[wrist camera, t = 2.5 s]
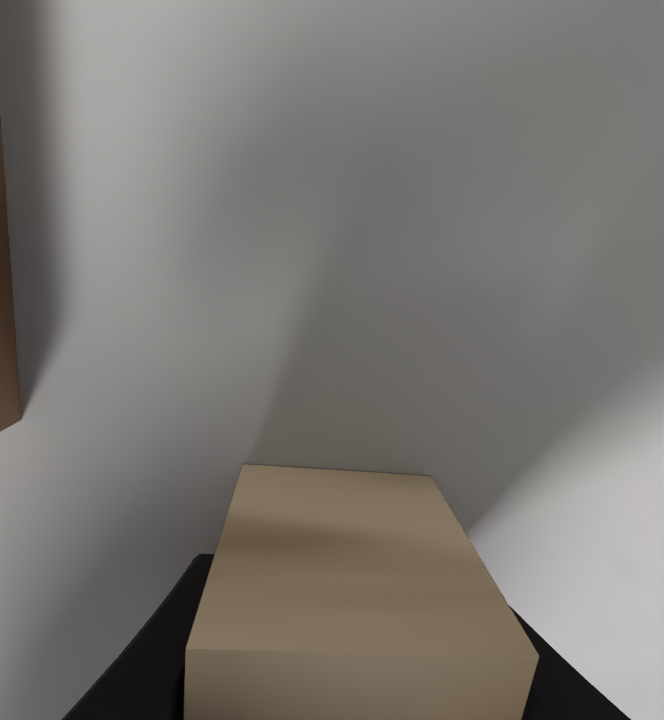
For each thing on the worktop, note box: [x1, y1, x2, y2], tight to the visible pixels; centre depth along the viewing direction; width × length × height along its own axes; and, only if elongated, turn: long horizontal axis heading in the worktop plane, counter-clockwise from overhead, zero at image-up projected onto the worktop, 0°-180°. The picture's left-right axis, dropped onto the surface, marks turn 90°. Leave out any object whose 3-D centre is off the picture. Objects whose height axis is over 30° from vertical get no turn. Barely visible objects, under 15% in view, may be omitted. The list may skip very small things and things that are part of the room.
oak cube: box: [184, 464, 539, 720], centre depth 8 cm, size 4×4×4 cm
